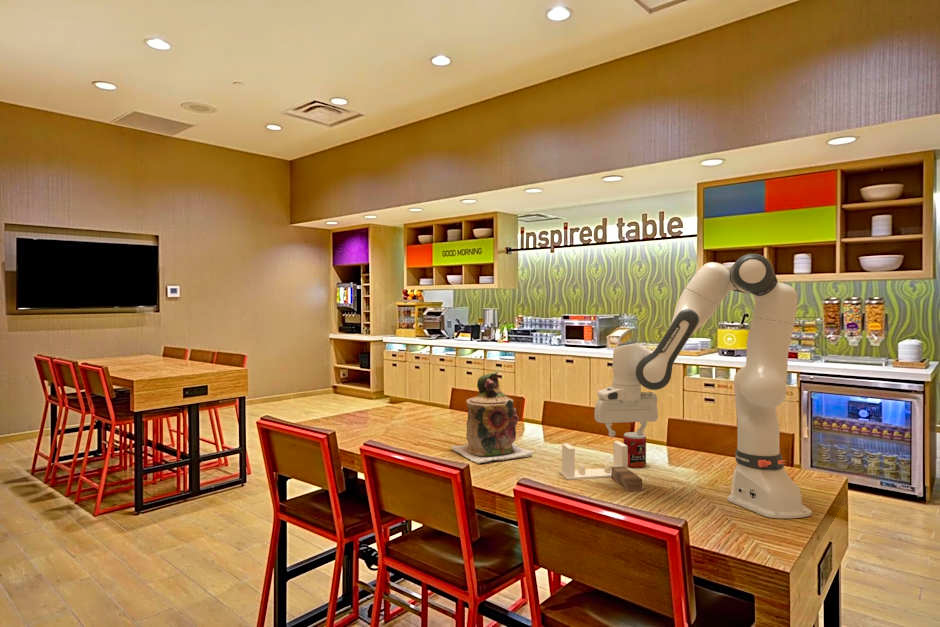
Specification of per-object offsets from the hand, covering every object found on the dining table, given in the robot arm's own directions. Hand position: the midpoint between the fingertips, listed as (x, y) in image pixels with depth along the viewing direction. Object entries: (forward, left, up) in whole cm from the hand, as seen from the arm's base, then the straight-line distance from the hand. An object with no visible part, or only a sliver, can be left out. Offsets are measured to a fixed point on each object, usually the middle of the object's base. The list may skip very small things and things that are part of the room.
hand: (626, 435), depth 187 cm
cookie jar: (+45, +35, -16) cm, 59 cm away
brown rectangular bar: (0, 0, -16) cm, 16 cm away
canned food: (+20, -12, -16) cm, 28 cm away
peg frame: (+12, +6, -16) cm, 20 cm away
